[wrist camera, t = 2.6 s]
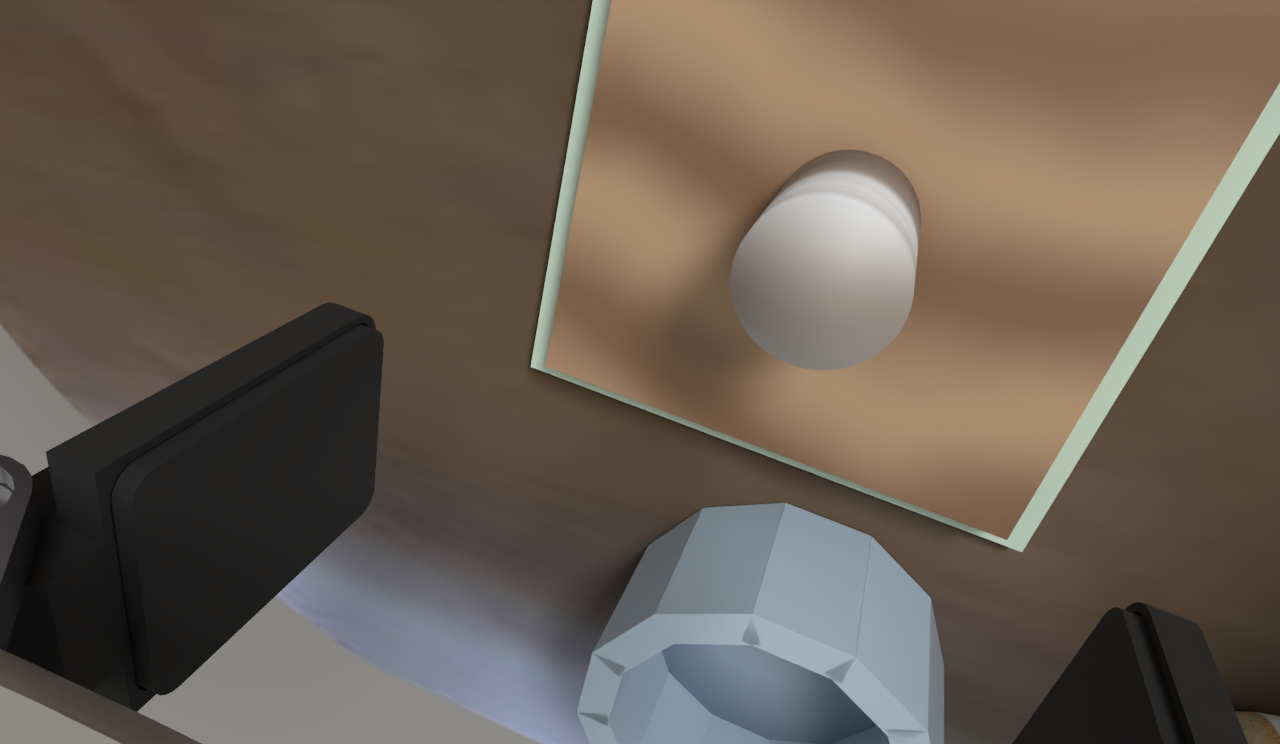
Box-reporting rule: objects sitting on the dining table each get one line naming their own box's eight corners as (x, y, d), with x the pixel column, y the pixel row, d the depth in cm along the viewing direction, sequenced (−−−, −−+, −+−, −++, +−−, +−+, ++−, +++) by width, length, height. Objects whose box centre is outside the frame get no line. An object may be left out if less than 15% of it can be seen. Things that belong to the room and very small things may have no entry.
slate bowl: (673, 459, 30) (618, 557, 25) (994, 583, 28) (1005, 719, 23) (611, 669, 36) (556, 783, 31) (872, 785, 34) (858, 929, 29)
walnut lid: (657, -169, 21) (549, -223, 15) (1315, -15, 18) (1488, -10, 12) (559, 352, 29) (463, 446, 23) (1004, 517, 26) (1021, 672, 20)
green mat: (638, -218, 21) (630, -223, 21) (1381, -53, 18) (1393, -53, 17) (537, 360, 30) (530, 366, 30) (1020, 541, 27) (1022, 552, 26)
